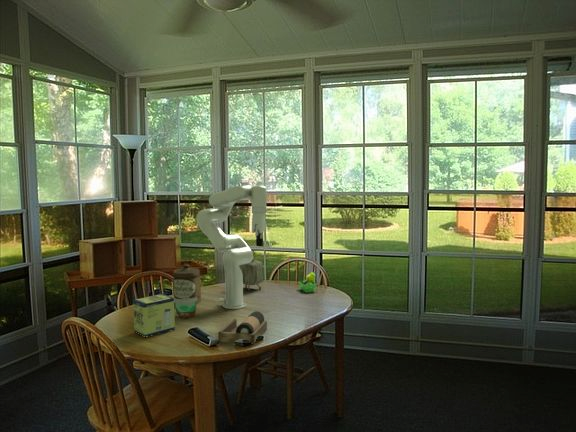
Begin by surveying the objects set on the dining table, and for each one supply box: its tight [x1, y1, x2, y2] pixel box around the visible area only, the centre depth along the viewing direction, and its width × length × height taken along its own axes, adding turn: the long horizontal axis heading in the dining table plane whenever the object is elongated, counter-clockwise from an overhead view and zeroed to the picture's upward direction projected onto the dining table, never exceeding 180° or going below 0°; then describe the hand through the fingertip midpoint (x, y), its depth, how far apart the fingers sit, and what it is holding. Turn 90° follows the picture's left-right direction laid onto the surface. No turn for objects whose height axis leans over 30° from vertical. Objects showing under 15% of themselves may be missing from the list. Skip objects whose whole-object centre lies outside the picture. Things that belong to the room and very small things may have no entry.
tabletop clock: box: [239, 249, 265, 291], centre depth 297 cm, size 14×9×25 cm, turn 58°
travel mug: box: [236, 310, 265, 334], centre depth 214 cm, size 8×8×20 cm
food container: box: [173, 296, 198, 320], centre depth 241 cm, size 12×6×10 cm, turn 105°
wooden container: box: [172, 263, 202, 305], centre depth 269 cm, size 15×15×22 cm
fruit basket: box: [298, 271, 317, 293], centre depth 293 cm, size 11×9×11 cm
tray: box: [217, 318, 268, 345], centre depth 213 cm, size 16×20×4 cm
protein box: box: [132, 293, 176, 337], centre depth 220 cm, size 10×16×16 cm
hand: (259, 246), depth 244 cm, fingers closed
